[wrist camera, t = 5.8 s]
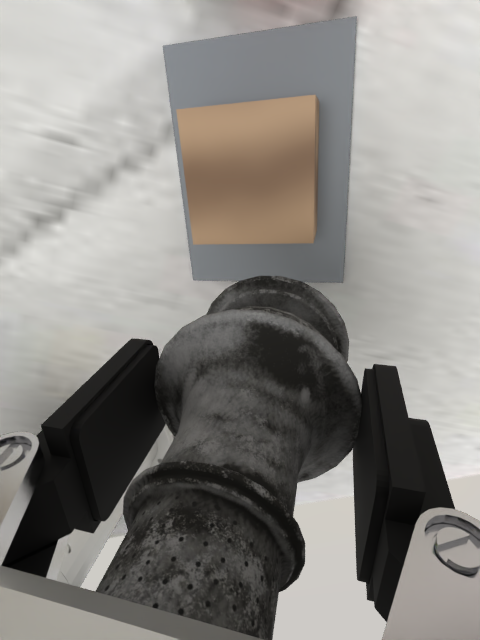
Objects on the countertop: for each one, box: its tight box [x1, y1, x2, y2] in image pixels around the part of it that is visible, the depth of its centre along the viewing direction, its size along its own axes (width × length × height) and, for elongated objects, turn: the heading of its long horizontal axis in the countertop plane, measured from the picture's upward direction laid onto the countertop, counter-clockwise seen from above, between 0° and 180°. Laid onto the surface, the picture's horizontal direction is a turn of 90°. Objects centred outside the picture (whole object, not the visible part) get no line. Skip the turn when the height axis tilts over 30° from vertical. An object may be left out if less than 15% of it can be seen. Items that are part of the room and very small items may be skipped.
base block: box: [176, 95, 319, 245], centre depth 24 cm, size 8×8×4 cm
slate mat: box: [163, 16, 357, 283], centre depth 26 cm, size 16×12×1 cm
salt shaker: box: [95, 276, 362, 640], centre depth 8 cm, size 6×6×12 cm
